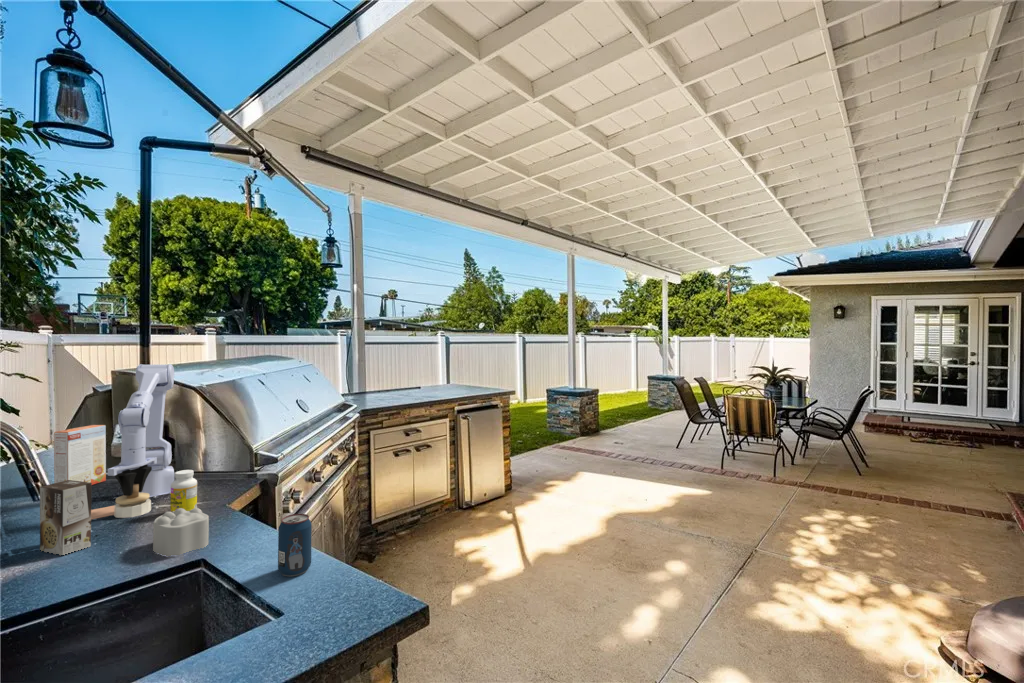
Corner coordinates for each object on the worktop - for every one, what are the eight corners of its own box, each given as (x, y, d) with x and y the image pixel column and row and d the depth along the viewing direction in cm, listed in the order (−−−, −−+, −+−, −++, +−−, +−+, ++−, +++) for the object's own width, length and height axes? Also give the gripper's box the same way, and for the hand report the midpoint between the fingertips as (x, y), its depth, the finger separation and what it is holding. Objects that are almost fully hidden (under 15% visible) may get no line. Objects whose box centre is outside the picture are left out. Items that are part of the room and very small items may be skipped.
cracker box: (91, 480, 179) (92, 424, 179) (106, 481, 178) (107, 424, 178) (52, 492, 165) (53, 431, 165) (68, 493, 164) (68, 431, 165)
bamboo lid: (135, 494, 149) (135, 479, 149) (156, 496, 148) (156, 482, 148) (108, 502, 142) (108, 487, 142) (130, 505, 140) (130, 490, 140)
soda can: (298, 561, 115) (299, 510, 115) (317, 568, 112) (318, 516, 112) (271, 573, 109) (271, 519, 109) (290, 580, 106) (291, 525, 106)
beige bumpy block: (169, 560, 115) (169, 523, 115) (143, 547, 122) (143, 513, 122) (214, 544, 124) (214, 510, 124) (187, 534, 131) (188, 502, 131)
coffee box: (92, 546, 122) (93, 482, 122) (61, 557, 116) (62, 489, 116) (69, 541, 125) (70, 478, 125) (38, 551, 119) (38, 485, 119)
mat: (119, 506, 152) (119, 504, 152) (126, 513, 145) (126, 511, 145) (76, 514, 144) (76, 512, 144) (82, 523, 138) (82, 521, 138)
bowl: (146, 507, 151) (146, 496, 151) (153, 514, 145) (154, 502, 145) (111, 515, 144) (111, 503, 144) (118, 521, 139) (118, 509, 139)
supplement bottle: (164, 516, 143) (165, 473, 143) (187, 509, 149) (187, 467, 150) (179, 519, 141) (180, 475, 141) (202, 512, 147) (202, 470, 147)
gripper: (142, 442, 152) (142, 485, 152) (98, 453, 138) (97, 500, 138) (163, 443, 152) (162, 486, 151) (120, 453, 137) (119, 501, 137)
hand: (133, 493), depth 145 cm, fingers open, 3 cm apart
